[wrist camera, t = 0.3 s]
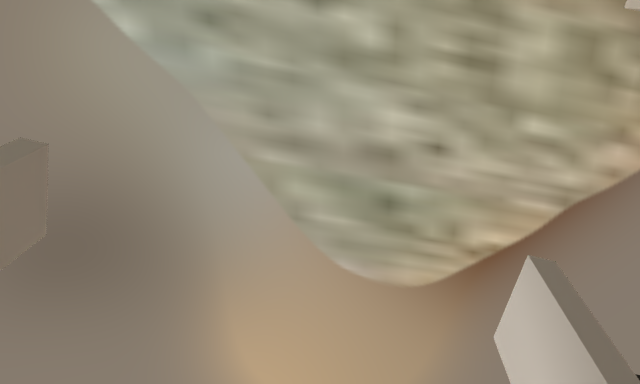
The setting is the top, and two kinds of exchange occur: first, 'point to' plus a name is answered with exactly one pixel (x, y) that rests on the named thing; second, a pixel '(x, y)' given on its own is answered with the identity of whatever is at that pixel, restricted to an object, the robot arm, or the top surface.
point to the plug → (633, 5)
